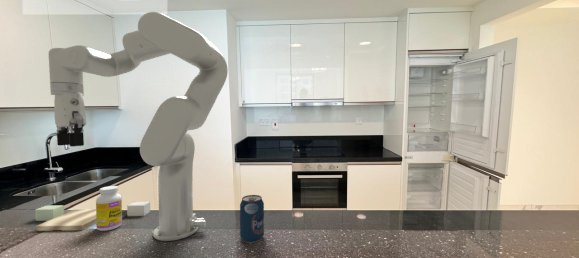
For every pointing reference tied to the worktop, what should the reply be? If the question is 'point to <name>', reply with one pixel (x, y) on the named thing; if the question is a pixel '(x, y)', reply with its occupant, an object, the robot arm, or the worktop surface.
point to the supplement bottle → (108, 209)
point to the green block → (48, 212)
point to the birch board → (70, 221)
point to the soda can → (251, 218)
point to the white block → (138, 209)
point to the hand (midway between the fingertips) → (70, 145)
